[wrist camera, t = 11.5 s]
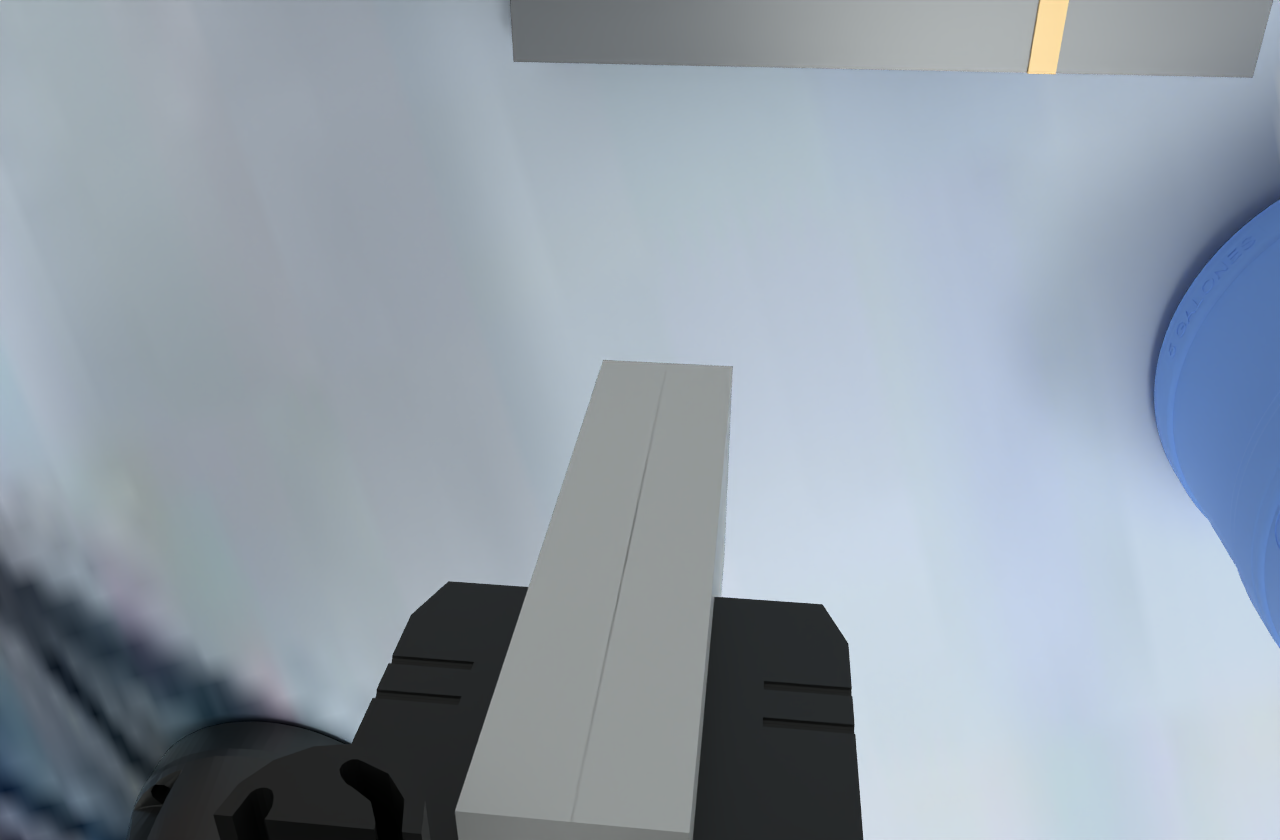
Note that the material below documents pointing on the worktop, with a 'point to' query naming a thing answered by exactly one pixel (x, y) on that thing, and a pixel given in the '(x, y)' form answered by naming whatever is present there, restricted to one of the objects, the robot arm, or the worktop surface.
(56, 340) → the worktop surface
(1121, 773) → the worktop surface
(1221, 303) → the water jug
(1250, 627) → the worktop surface
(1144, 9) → the console
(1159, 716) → the worktop surface
